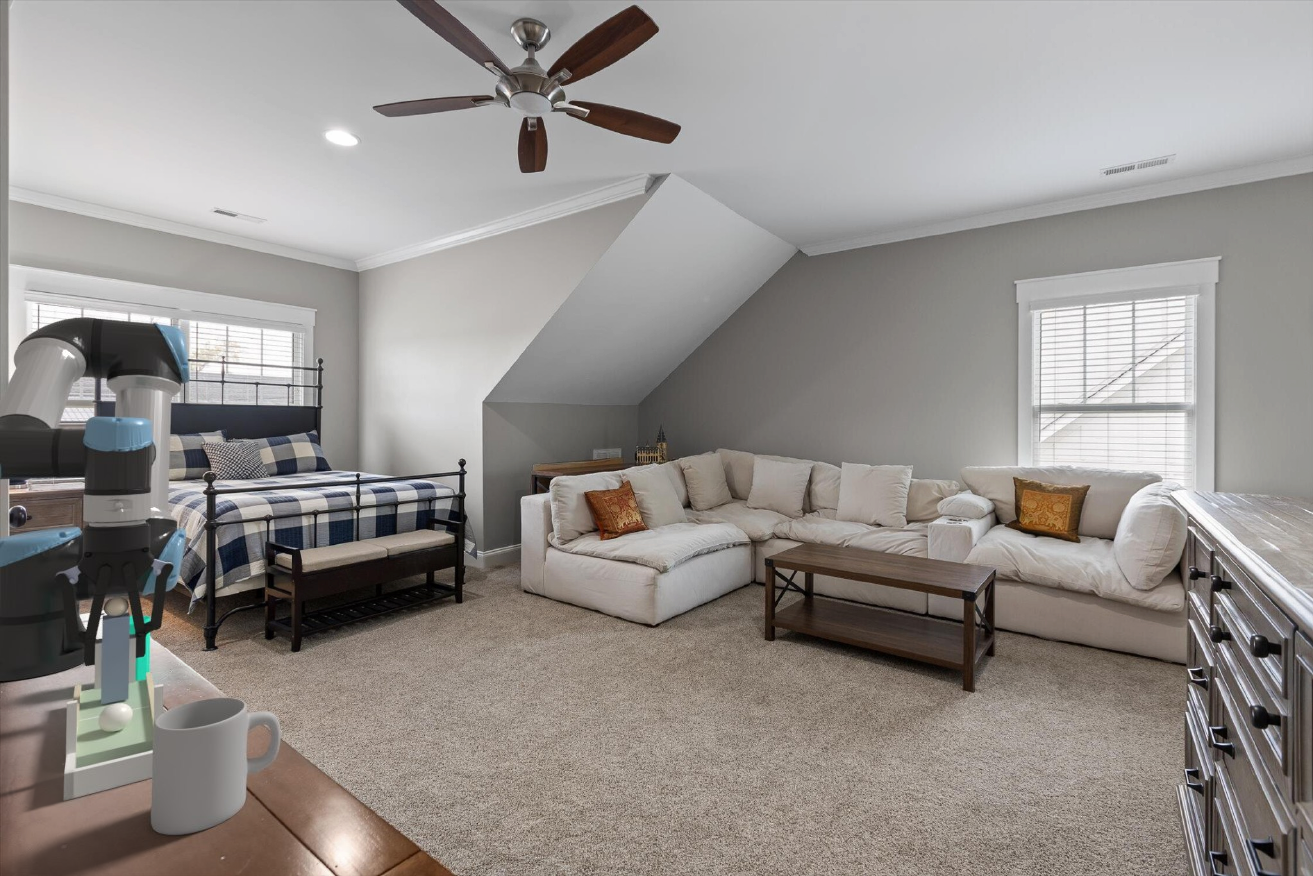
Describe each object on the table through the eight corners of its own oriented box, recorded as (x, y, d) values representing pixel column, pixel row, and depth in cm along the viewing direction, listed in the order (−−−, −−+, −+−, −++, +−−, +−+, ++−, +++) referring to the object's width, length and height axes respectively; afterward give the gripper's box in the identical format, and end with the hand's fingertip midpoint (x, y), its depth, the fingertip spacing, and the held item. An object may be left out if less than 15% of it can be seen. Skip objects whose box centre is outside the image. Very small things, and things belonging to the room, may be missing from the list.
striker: (101, 697, 93) (102, 596, 93) (127, 692, 95) (129, 593, 95) (101, 704, 91) (102, 600, 91) (128, 699, 93) (130, 597, 93)
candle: (93, 687, 102) (94, 612, 102) (135, 674, 108) (136, 603, 108) (115, 693, 100) (117, 617, 100) (157, 680, 106) (159, 608, 106)
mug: (156, 847, 64) (158, 738, 64) (145, 810, 70) (147, 711, 70) (289, 801, 73) (291, 705, 73) (269, 771, 79) (271, 683, 79)
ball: (98, 729, 84) (98, 703, 84) (132, 722, 87) (132, 696, 87) (97, 739, 82) (98, 712, 82) (133, 731, 84) (133, 705, 84)
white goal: (66, 776, 77) (67, 701, 77) (161, 753, 83) (163, 683, 82) (63, 801, 72) (64, 721, 72) (165, 774, 78) (166, 700, 78)
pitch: (74, 705, 96) (75, 685, 96) (151, 690, 101) (151, 672, 101) (66, 776, 77) (66, 751, 77) (161, 753, 83) (161, 730, 82)
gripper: (38, 530, 85) (36, 706, 85) (188, 521, 95) (185, 678, 96) (43, 523, 91) (40, 688, 91) (184, 515, 101) (181, 663, 101)
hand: (115, 682), depth 93 cm, fingers closed on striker, 3 cm apart
